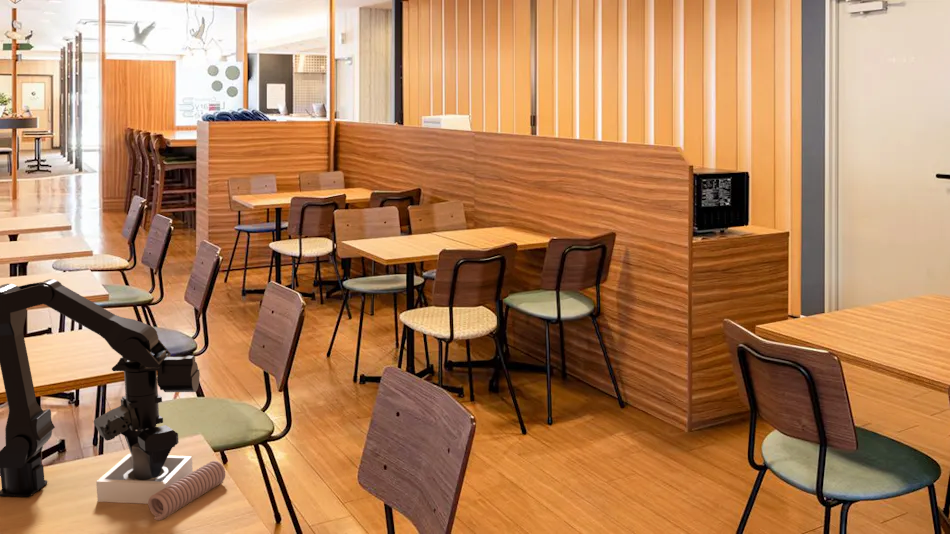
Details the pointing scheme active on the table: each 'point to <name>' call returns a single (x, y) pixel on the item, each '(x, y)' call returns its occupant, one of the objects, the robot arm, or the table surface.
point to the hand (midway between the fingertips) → (146, 469)
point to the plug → (140, 464)
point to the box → (128, 490)
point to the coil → (186, 490)
